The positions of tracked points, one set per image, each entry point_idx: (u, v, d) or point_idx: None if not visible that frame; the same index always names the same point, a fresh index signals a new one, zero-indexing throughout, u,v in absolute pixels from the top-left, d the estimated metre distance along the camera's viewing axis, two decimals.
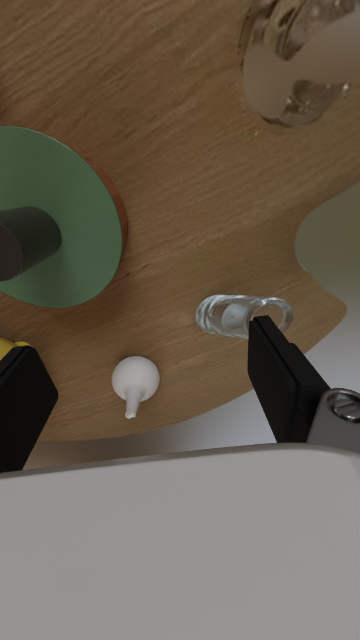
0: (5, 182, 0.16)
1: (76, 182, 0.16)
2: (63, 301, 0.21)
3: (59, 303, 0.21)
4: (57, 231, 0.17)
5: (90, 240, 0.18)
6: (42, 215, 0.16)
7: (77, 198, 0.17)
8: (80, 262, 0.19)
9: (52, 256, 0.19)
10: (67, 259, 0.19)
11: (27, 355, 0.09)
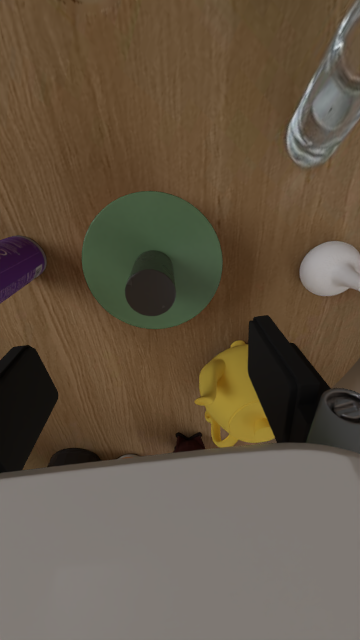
0: (115, 269, 0.21)
1: (128, 216, 0.19)
2: (213, 282, 0.23)
3: (213, 286, 0.23)
4: (157, 252, 0.20)
5: (173, 229, 0.20)
6: (142, 255, 0.20)
7: (139, 222, 0.20)
8: (188, 248, 0.21)
9: (174, 268, 0.22)
10: (181, 258, 0.21)
11: (27, 355, 0.09)
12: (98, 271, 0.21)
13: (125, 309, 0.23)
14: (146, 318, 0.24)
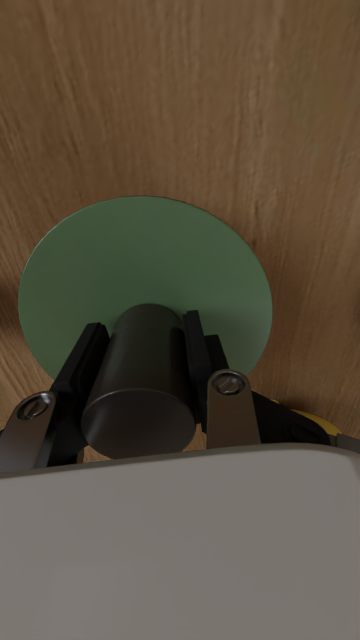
0: None
1: (99, 244, 0.10)
2: (253, 352, 0.13)
3: (252, 358, 0.13)
4: (157, 308, 0.11)
5: (187, 268, 0.11)
6: (128, 316, 0.11)
7: (121, 255, 0.10)
8: (212, 300, 0.11)
9: None
10: (200, 315, 0.12)
11: (102, 330, 0.10)
12: (51, 337, 0.12)
13: None
14: None
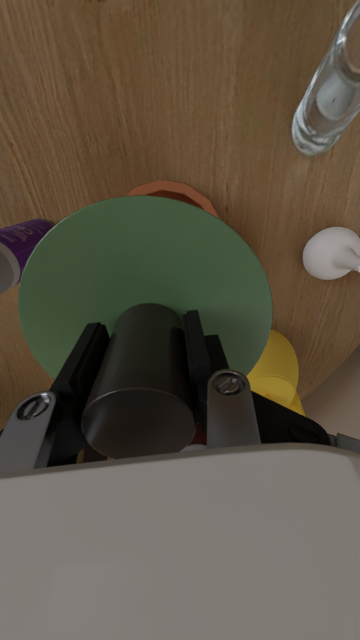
0: None
1: (99, 243, 0.10)
2: (253, 351, 0.13)
3: (252, 357, 0.13)
4: (157, 308, 0.11)
5: (187, 268, 0.11)
6: (128, 316, 0.11)
7: (121, 254, 0.10)
8: (212, 299, 0.11)
9: None
10: (200, 315, 0.12)
11: (102, 330, 0.10)
12: (51, 337, 0.12)
13: None
14: None
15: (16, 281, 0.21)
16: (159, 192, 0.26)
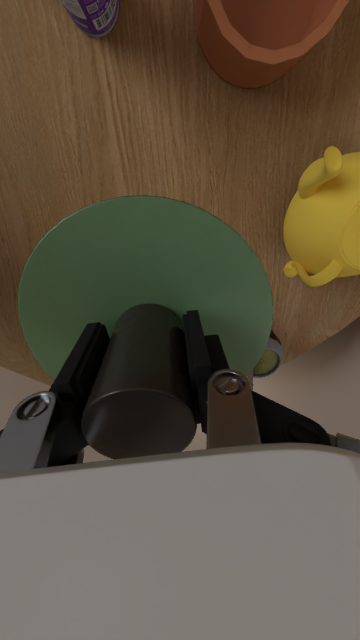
0: None
1: (99, 244, 0.10)
2: (253, 352, 0.13)
3: (252, 358, 0.13)
4: (157, 308, 0.11)
5: (187, 268, 0.11)
6: (128, 316, 0.11)
7: (121, 255, 0.10)
8: (212, 300, 0.11)
9: None
10: (200, 315, 0.12)
11: (102, 330, 0.10)
12: (51, 337, 0.12)
13: None
14: None
15: None
16: None
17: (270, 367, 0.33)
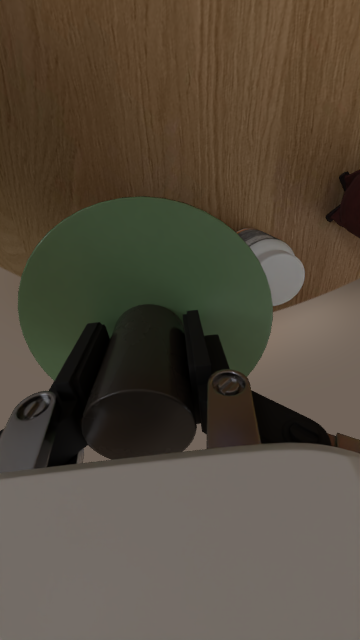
0: None
1: (99, 245, 0.10)
2: (253, 352, 0.13)
3: (252, 358, 0.13)
4: (157, 309, 0.11)
5: (187, 269, 0.11)
6: (128, 317, 0.11)
7: (121, 255, 0.10)
8: (212, 300, 0.11)
9: None
10: (200, 316, 0.12)
11: (102, 330, 0.10)
12: (51, 338, 0.12)
13: None
14: None
15: None
16: None
17: None
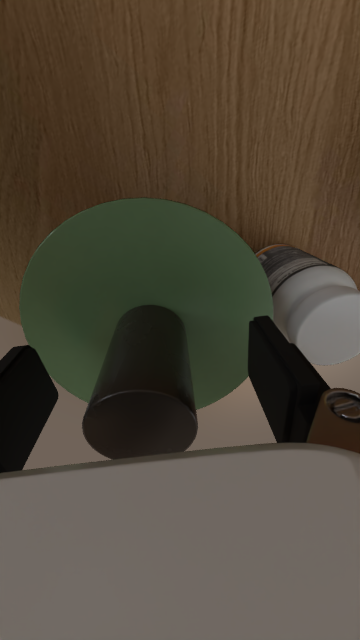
0: (82, 336, 0.12)
1: (100, 245, 0.10)
2: None
3: None
4: (158, 309, 0.11)
5: (188, 269, 0.11)
6: (129, 318, 0.11)
7: (123, 256, 0.10)
8: (213, 301, 0.11)
9: (188, 333, 0.12)
10: (201, 317, 0.12)
11: (27, 355, 0.09)
12: (53, 338, 0.12)
13: None
14: None
15: None
16: None
17: None
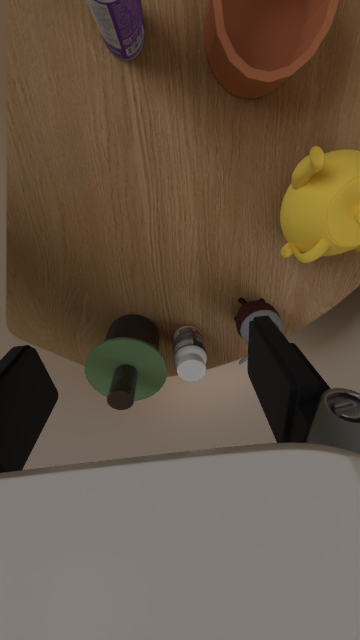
0: (103, 373, 0.37)
1: (110, 349, 0.35)
2: (162, 378, 0.38)
3: (162, 380, 0.38)
4: (127, 366, 0.36)
5: (136, 355, 0.35)
6: (118, 369, 0.35)
7: (116, 352, 0.35)
8: (145, 363, 0.36)
9: (138, 372, 0.37)
10: (142, 367, 0.37)
11: (27, 355, 0.09)
12: (94, 374, 0.37)
13: None
14: None
15: None
16: None
17: None
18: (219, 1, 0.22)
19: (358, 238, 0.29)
